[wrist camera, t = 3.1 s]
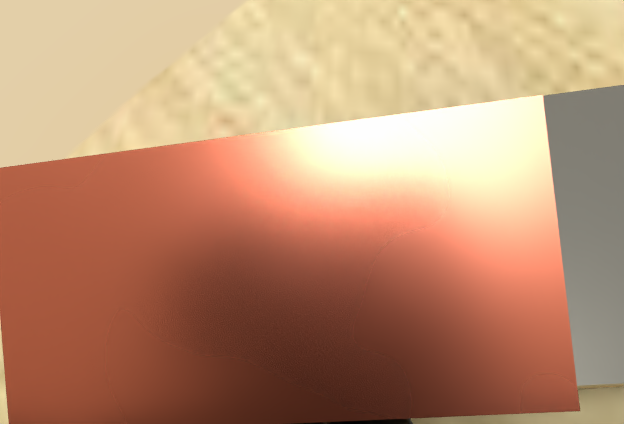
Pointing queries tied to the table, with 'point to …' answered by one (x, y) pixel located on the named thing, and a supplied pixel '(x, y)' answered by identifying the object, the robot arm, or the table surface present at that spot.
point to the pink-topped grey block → (291, 276)
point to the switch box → (591, 225)
